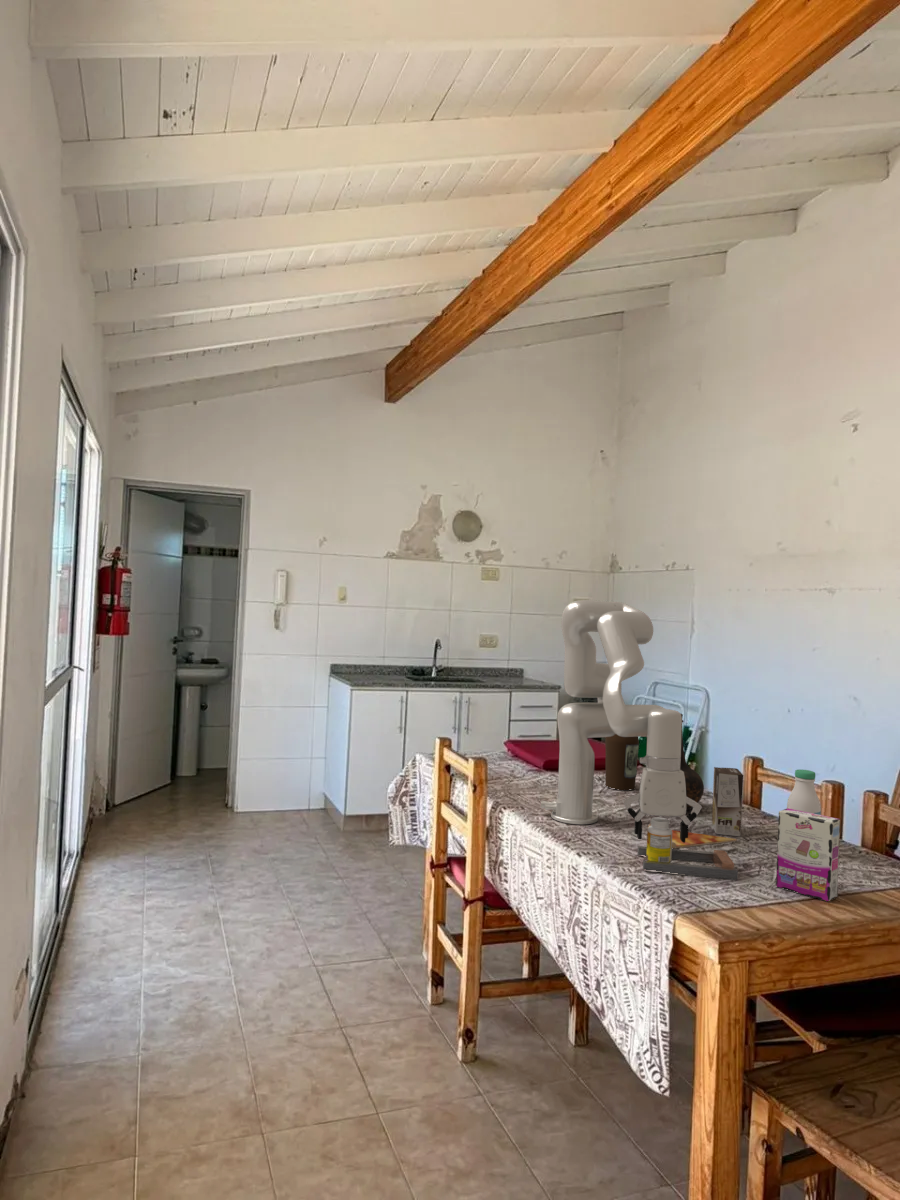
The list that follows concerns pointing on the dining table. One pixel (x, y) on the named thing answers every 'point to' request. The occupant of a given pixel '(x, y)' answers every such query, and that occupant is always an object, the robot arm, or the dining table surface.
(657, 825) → the supplement bottle
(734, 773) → the coffee box
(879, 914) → the dining table surface
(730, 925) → the dining table surface
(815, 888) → the candy bar box
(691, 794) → the dark brown vase
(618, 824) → the dining table surface
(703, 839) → the pizza slice
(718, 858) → the frame
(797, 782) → the milk bottle
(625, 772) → the olive oil
